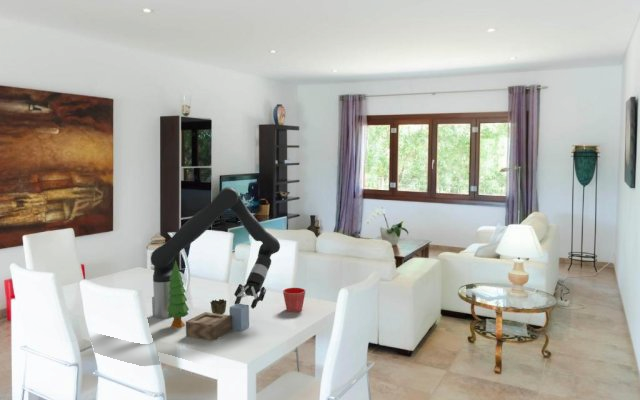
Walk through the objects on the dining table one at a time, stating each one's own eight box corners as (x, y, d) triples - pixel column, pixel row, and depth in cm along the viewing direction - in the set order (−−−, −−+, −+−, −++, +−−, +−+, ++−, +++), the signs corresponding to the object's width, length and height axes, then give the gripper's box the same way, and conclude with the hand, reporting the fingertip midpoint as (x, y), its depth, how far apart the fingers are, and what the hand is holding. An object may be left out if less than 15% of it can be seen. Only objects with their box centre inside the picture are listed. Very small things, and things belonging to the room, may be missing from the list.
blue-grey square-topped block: (230, 329, 231) (229, 307, 230) (237, 325, 236) (237, 303, 235) (241, 331, 228) (241, 308, 227) (249, 327, 234) (248, 305, 233)
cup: (211, 320, 242) (210, 303, 242) (210, 316, 249) (209, 299, 249) (227, 319, 244) (227, 302, 244) (226, 314, 251) (225, 298, 251)
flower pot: (302, 313, 253) (302, 293, 252) (280, 312, 255) (280, 292, 254) (307, 307, 263) (307, 288, 262) (286, 305, 265) (286, 287, 265)
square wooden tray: (186, 337, 222) (185, 321, 221) (205, 326, 235) (204, 312, 234) (214, 341, 217) (213, 325, 216) (232, 330, 230) (231, 315, 229)
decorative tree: (181, 321, 242) (179, 257, 239) (193, 325, 236) (192, 259, 233) (163, 326, 234) (160, 260, 232) (175, 331, 228) (173, 263, 226)
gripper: (241, 270, 245) (227, 300, 235) (267, 273, 238) (254, 304, 229) (248, 278, 250) (234, 308, 241) (273, 281, 244) (261, 312, 234)
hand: (244, 306), depth 235 cm, fingers open, 8 cm apart
